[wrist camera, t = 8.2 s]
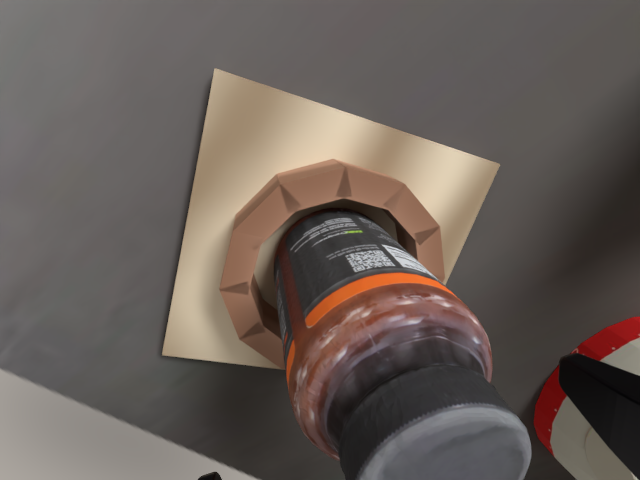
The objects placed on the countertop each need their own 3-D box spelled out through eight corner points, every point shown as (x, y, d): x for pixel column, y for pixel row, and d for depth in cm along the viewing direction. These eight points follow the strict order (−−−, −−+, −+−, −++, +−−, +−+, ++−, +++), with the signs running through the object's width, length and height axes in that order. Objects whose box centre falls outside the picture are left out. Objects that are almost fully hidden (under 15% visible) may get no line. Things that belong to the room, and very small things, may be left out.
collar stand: (490, 162, 18) (536, 172, 15) (395, 374, 22) (416, 415, 19) (216, 70, 14) (206, 60, 11) (165, 345, 18) (148, 390, 15)
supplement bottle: (317, 330, 19) (393, 608, 8) (247, 252, 16) (230, 503, 6) (407, 267, 18) (607, 477, 8) (347, 178, 16) (520, 309, 6)
